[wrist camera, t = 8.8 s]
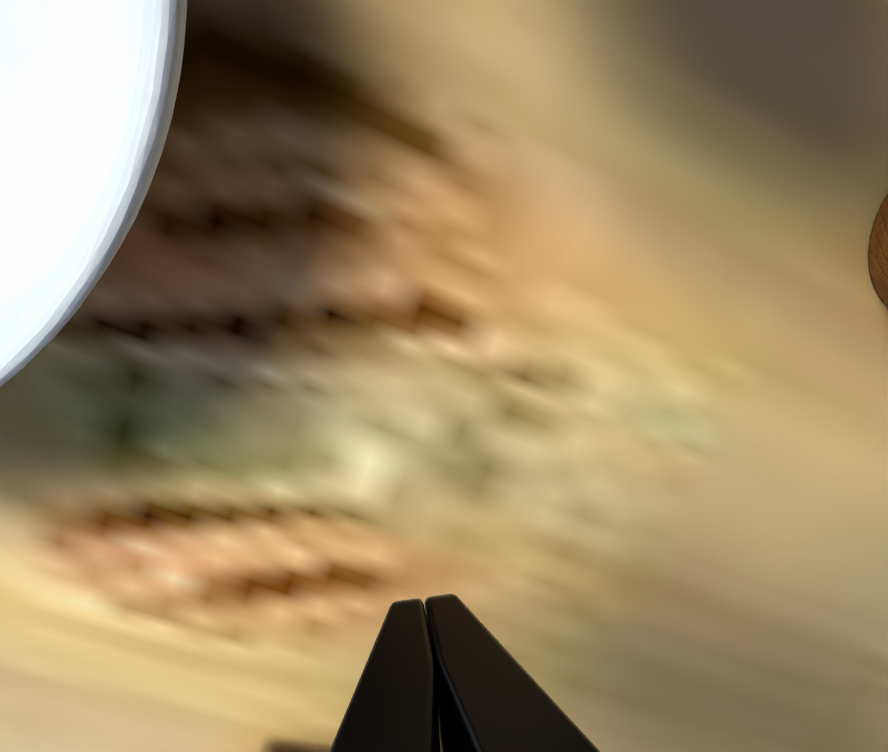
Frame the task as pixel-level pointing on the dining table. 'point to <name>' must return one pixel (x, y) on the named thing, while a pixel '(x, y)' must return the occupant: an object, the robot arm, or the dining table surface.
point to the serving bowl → (75, 149)
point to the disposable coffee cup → (880, 252)
